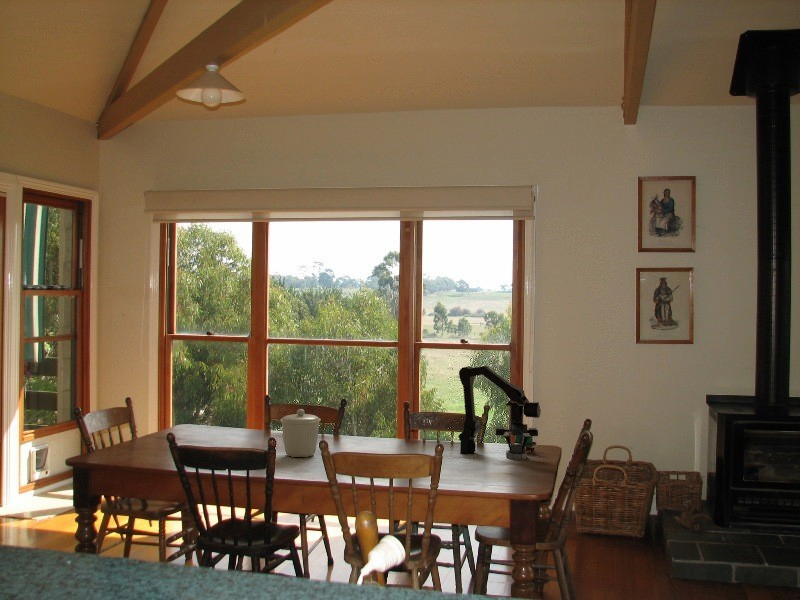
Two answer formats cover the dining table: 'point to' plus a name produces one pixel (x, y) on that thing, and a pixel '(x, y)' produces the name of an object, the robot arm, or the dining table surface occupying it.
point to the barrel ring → (516, 455)
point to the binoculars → (528, 443)
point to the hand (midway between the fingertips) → (516, 450)
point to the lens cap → (516, 448)
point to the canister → (300, 434)
